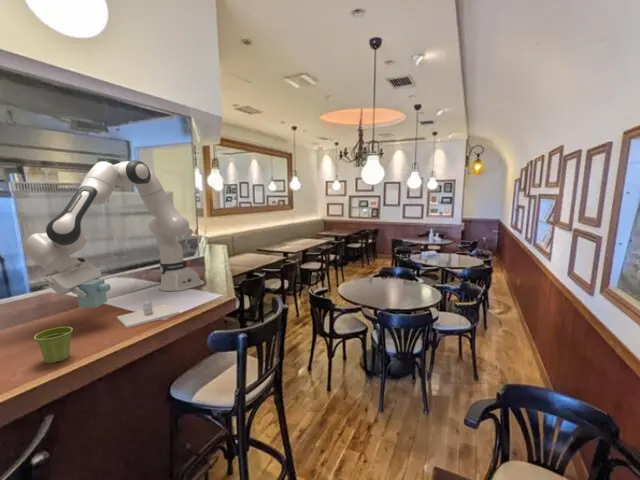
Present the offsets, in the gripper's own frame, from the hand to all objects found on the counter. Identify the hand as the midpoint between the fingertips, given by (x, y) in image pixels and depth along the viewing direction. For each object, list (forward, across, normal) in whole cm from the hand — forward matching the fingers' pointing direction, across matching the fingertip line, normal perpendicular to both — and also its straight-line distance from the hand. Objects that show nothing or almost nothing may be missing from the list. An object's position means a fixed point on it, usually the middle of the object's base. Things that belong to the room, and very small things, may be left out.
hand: (93, 292), depth 127 cm
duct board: (+20, +10, -1) cm, 22 cm away
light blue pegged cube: (+4, 0, +3) cm, 5 cm away
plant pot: (+12, -25, +7) cm, 29 cm away
